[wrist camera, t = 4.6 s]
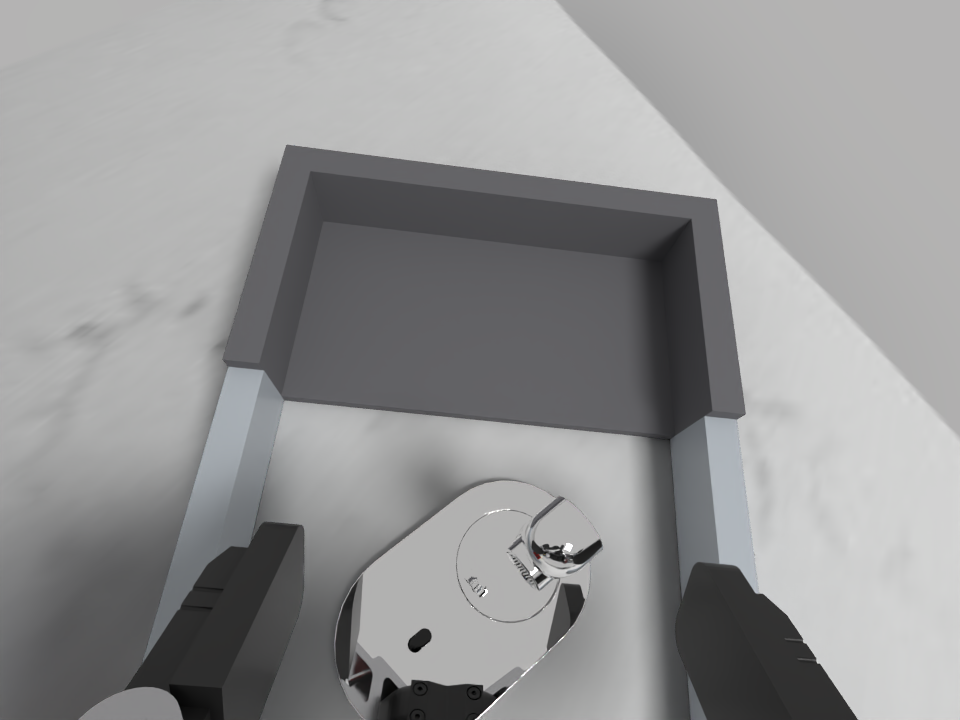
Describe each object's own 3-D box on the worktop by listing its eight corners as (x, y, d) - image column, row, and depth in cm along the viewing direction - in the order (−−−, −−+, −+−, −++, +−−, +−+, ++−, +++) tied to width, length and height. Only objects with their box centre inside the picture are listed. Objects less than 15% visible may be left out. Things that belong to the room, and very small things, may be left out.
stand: (302, 619, 15) (517, 453, 18) (403, 785, 14) (619, 580, 17) (203, 630, 9) (575, 358, 11) (383, 960, 7) (759, 562, 10)
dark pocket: (253, 397, 18) (222, 359, 15) (304, 204, 21) (286, 145, 18) (698, 442, 19) (745, 414, 16) (680, 249, 22) (716, 199, 19)
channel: (69, 1091, 11) (-18, 1212, 9) (253, 397, 18) (228, 366, 16) (762, 1112, 12) (839, 1227, 10) (698, 442, 19) (736, 419, 16)
